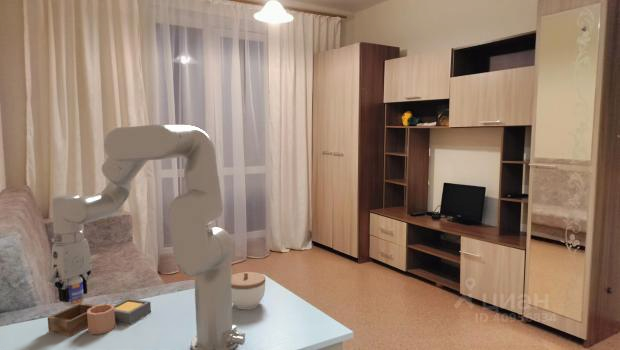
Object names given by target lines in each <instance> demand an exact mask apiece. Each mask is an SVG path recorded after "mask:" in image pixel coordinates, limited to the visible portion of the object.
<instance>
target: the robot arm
mask: <svg viewBox="0 0 620 350" xmlns="http://www.w3.org/2000/svg"><path fill="white" fill-rule="evenodd" d="M103 149H104V152H105V153H106V155H107V156H108V157H107V159H105V161H104V162H103V163H102V165H101V172H102V174H103V175H104V177H105V178H106V179H107V180H108V181H109V182H108V184H107V186H106V187H105V188H103V190H102V191H101V192H98V193H92V194H88V195H83V196H80V195H78V194H62V195H57V196H55V197H53V198H52V200H51V210H52V211H51V212H52V225H53V237H52V238H51V243H54V244H53V245H52V249H51V265H50V266H51V273H50V274H49V276H48V278H47V280H46V282H47V283H48V284H50V285H52V286H53V287H54V288H56V289H57V291H58V300H59V302H62V303H63V302H69V289H68V288H66V287H67V282H68V279H71V278H73V277H76V276H80V277H82V279H83V294H84V295H86V294H88V284H87V283H88V282H87V281H88V280H89V276H90V275H91V273H92V271H93V269H94V268H95V263H93V262H92V255H91V249H90V246H89V242H88V239H87V238H85V230H84V228H85V227H84V224H89V223H92V222H95V221H99V220H102V219H106V218H109V217H111V216H113V215H114V214H116V213H117V212H118V210H120V208H121V207H122V206H123V205H124V203H125V202H126V201H127V200H128V198H129V196H130V193H131V189H132V183H131V182H132V181H133V180H134V178H135V177H136V176H137V174H138V173H139V172H140V171H141V170H142V169H143V167H144V166H145V165H146V163H148V161H159V160H167V159H168V160H169V159H176V158H185V165H184V171H183V176H184V182H185V183H184V184H185V192H182V193H181V194H178V195H177V196H175V198H174V199H173V200H172V201H171V203H170V205H169V207H168V226H169V232H170V239H171V246H172V251H173V257H174V262H175V264H176V266H177V268H178V269H179V270H180V272H182V273H183V274H184V275H186V276H188V277H194V304H195V324H196V325H195V326H196V327H195V328H196V335H195V336H194V337H193V338H192V339H191V342H190V346H191V350H234V349H235V348H236V347H237V346H244V345H245V342H246V338H245V337H246V333H245V332H238V331H237V330H238V329H237V325H235V324H234V322H233V321H234V320H233V303H232V291H231V287H232V285H231V275H232V265H233V256H234V243H233V238H232V237H231V234H230V233H229V232H228V231H227V230H225V229H223V228H221V227H218V226H217V227H216V226H213V227H207V226H208V225H210V224H212V223H215V222H216V221H218V220H219V219H220V218H221V216H222V215H223V212H224V205H223V198H222V192H221V191H222V190H221V183H220V177H219V172H218V165H217V154H216V148H215V144H214V143H213V141H212V138H211V137H210V135H209V134H207V133H206V132H205V131H204V130H202V129H200V128H199V127H196V126H192V125H189V124H188V125H186V124H149V125H138V126H120V127H116V128H113V129H111V130H110V131H109V132H108V133H107V134H106V136H105V138H104V143H103ZM62 280H63V283H62Z"/></svg>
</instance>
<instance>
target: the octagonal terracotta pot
mask: <svg viewBox="0 0 620 350" xmlns="http://www.w3.org/2000/svg"><path fill="white" fill-rule="evenodd" d="M114 305H115V304H111V303H102V304H96V306H94V307H91V308H89V309H88V310H87V320H88V328H87V331H88V333H89V334H90V335H102V334H106V333H109V332H111V331H113V330H115V328H116V322H115V311H114Z"/></svg>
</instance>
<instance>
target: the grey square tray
mask: <svg viewBox="0 0 620 350" xmlns="http://www.w3.org/2000/svg"><path fill="white" fill-rule="evenodd" d="M128 301H129V302H136V303H142V305H140V306H139V307H137V308H135V309H133V310H131V311H129V312H128V311H122V310H116V309H114V311H115V323H117V324H118V323H119V324H124V325H132V324H134V323H135V322H137V321H139V320H140V319H143V318H144V317H146V316H147V315H149V314H151V313H152V308H151V307H152V306H151V305H152V304H151V301H147V300H143V299H142V300H140V299H135V298H129V297H128V298H125V299H124V300H122V301H119V302H117V303H116V304H113V305H114V308H116V307H118V306H120V305H122V304H124V303H126V302H128Z"/></svg>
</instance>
